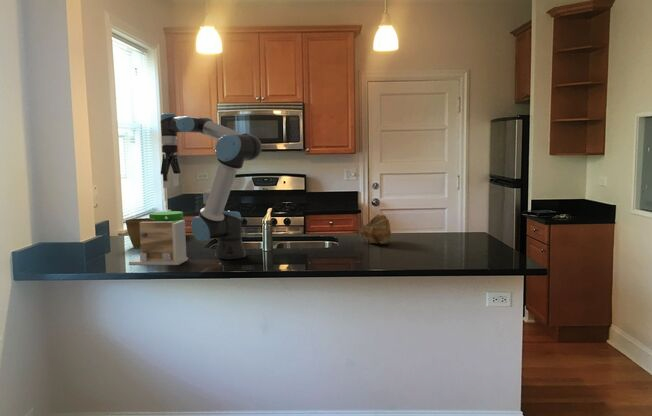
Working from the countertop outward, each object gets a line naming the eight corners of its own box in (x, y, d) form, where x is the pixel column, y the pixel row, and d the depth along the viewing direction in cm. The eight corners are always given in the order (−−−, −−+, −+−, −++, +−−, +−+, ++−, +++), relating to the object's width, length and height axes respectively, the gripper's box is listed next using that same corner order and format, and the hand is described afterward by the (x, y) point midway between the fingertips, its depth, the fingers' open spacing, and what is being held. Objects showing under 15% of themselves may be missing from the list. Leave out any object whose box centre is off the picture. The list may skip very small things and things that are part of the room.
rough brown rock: (357, 239, 313) (357, 214, 312) (386, 238, 314) (385, 213, 313) (362, 246, 290) (362, 218, 289) (392, 245, 291) (392, 218, 289)
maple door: (172, 260, 250) (170, 222, 248) (139, 260, 251) (138, 222, 250) (176, 259, 254) (174, 221, 252) (144, 258, 256) (142, 221, 254)
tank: (141, 246, 300) (140, 218, 299) (142, 238, 333) (141, 212, 332) (186, 244, 308) (185, 216, 306) (182, 235, 341) (181, 210, 339)
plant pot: (161, 247, 297) (159, 218, 295) (140, 251, 284) (139, 221, 282) (141, 245, 304) (140, 217, 302) (120, 249, 291) (119, 220, 289)
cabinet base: (178, 264, 246) (176, 223, 244) (129, 264, 249) (126, 223, 247) (187, 259, 258) (186, 220, 256) (140, 259, 261) (138, 220, 259)
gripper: (167, 144, 255) (169, 188, 257) (185, 145, 280) (186, 185, 282) (152, 144, 256) (154, 188, 258) (171, 145, 280) (173, 185, 282)
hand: (171, 187), depth 270 cm, fingers open, 13 cm apart
